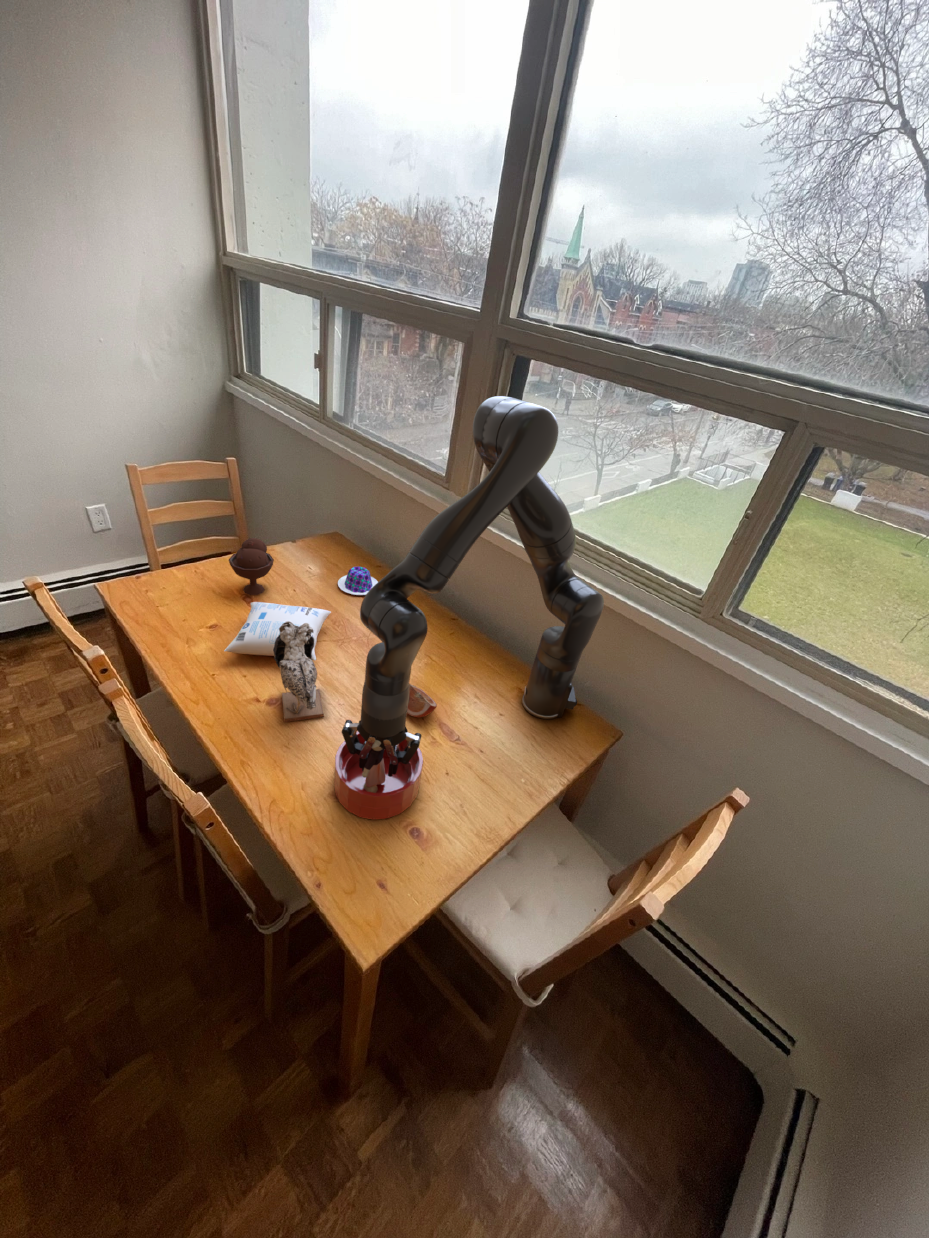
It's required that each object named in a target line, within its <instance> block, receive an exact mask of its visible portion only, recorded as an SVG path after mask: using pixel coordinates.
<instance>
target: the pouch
mask: <svg viewBox="0 0 929 1238" xmlns="http://www.w3.org/2000/svg"><path fill="white" fill-rule="evenodd" d="M331 613H332V611H330V610H327V609H323V608H318V607H317V608H316V607H307V606H301V605H300V606H299V605H288V604H280V603H273V602H263V601H253V602H250V611H249V613H248V615H247V618H246V621H245V622H244V624H243V626H242V627H241V628H240V630H239V631H238V633H237V634H236V636H235V637H234V638H233V640H232V641H231V642H230V643H229V644H228V645H227V646H226V648H225V649H224V650H223V652H227V653H232V654H233V653H234V654H241V655H242V654H244V655H254V656H266V657H267V656H269V657H274V652H273V649H274V645H275V641H276V638H277V637H278V636H279V634H280V632H279V628H280V627H281V625H282V624H283V623H285V622H287V621H290V622H292V623H293V624H294V625H295V626H301V625H303V624H304V623H308V624H309V626H310V627H311V628H312V629H313V631H314V633H311V636H312V637H313V638H314V647H313V649H312V658H311V660H312V661H317V657H316V651H315V648H316V645H317V640H318V635H319V633H320V631H321V629H322V627H323V624H324V623H325V621H326V620H327V618H328V617H329V616H330V614H331Z"/></svg>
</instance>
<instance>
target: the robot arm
mask: <svg viewBox="0 0 929 1238" xmlns="http://www.w3.org/2000/svg"><path fill="white" fill-rule="evenodd" d="M472 439H473V443H474V446H475V449H476V451H477V453H478V455H479V457H480V459H481V461H482V462H483V464H484V465H485V468H486V469H487V471H488V474H487V475H486V476H484V478H483V479H482V481H480V482H479V483H478V485H476V486H475V487H474V488H473V489H471V490H470V491H469V492H468V493H467V494H465V495H464V496H462V497H461V498H460V499H458V500H456V501H455V502H453V503H452V504H451V505H449V506H447V507H446V508H445V509H443V510H442V511H440V512H439V513H438V514H437V515H436V516H435V517H434V518H432V520H430V522H429V523H427V525H426V526H425V527H424V529H423V530H422V531H421V533H420V535H419V536H418V538H417V539H416V540H415V542H414V544H413V545H412V546H411V548H410V549H409V550H408V551H409V552H407V553H406V555H405V557H404V559H402V561H401V562H399V563H398V564H397V565H396V566H394V567H393V568H392V569H390V571H389V572H388V573H386V575H385V576H383V577H382V578H381V579H380V580H379V581H378V583H377V584H376V585H374V586H373V587H372V588H371V589H370V590H369V592H368V593H367V594H366V595H364V597H363V599H362V602H361V605H360V609H359V618H360V621H361V623H362V624H363V626H364V627H365V628H366V629H367V630H368V631H370V632H371V633H372V634H373V635H374V636H375V637H376V638H377V639H379V640H380V641H381V642H379V643H376V644H374V645H373V646H372V647H371V648H370V649H369V650H368V652H367V655H366V661H365V670H364V672H365V673H364V681H363V687H362V692H361V705H360V706H361V707H360V720H359V721H358V722H353V721H352V720H351V719H346V720H345V721H344V722H345V723H344V724H343V727H342V729H341V734H342V738H343V741H345V742H346V745H347V748H348V750H349V753H350V754H358V755H359V757H360V759H359V767H360V768H362V771H363V772H364V768H365V764H366V762H367V760H368V754H369V752H370V749H371V748H372V746H373V744H374V742H375V740H378V741H380V742H381V744H380V746H379V747H381V748H382V749H386V751H387V755H388V756H389V757H390V763H389V771H388V776H390V777H392V774H394V775H395V774H396V772H397V769H398V763H399V762H402V763H403V764H407V763H408V762H409V761H410V759H411V758H412V756H413V755H414V753H415V752H416V750H417V749H418V748H419V749H420V745H421V740H422V734H421V733H420V732H416V733H414V734H413V733H410V732H408V728H407V726H406V725H407V724H406V723H407V716H408V713H407V709H408V703H409V693H410V690H409V684H410V681H411V674H412V666H413V665H414V662H415V660H416V658H417V655H418V654H419V652H420V649H421V648H422V646H423V644H424V642H425V640H426V638H427V635H428V621H427V616H426V615H425V613H424V612H423V610H422V609H421V608H419V607H418V606H417V605H415V604H414V603H413V602H412V601H411V600H409V598H410V596H412V595H413V594H414V593H416V592H418V591H419V590H422V591H423V592H426V593H428V594H432V595H433V594H438V593H440V592H441V591H443V589H444V587H445V586H446V585H447V584H448V582H449V580H450V579H451V578H452V576H453V575H454V573H455V572H456V570H457V569H458V567H459V566H460V564H461V563H462V561H463V560H464V559H465V557H466V556H467V554H468V553H469V551H470V550H471V549H472V547H473V546H474V545H475V544H476V542H477V540H479V538H480V537H481V536H482V535H483V533H484V532H485V531H486V530H487V529H488V527H489V526H490V525H491V524H492V523H493V522H494V521H495V520H496V519H497V518H498V517H499V516H500V515H501V514H502V513H503V511H505V509H506V508H507V510H508V512H509V515H510V517H511V519H512V521H513V523H514V525H515V528H516V532H517V534H518V537H519V539H520V542H521V543H522V546H523V549H524V550H525V551H524V552H525V553H526V555H527V556H528V559H529V562H530V564H531V566H532V568H533V571H534V572H535V574H536V576H537V579H538V583H539V585H540V591H541V595H542V599H543V603H544V605H545V607H546V609H547V611H548V612H549V613H551V614H552V615H553V616H554V617H555V618H556V619H558V620H559V621H560V622H561V623H562V624H564V626H562V625H554V626H549V627H548V628H546V629H545V630H544V631H543V632H542V634H541V638H540V641H539V644H538V648H537V651H536V654H535V657H534V661H533V664H532V666H531V671H530V674H529V677H528V680H527V684H526V685H525V686H524V693H523V695H522V699H521V703H522V706H523V708H524V709H525V710H526V712H527V713H529V715H531V716H533V717H535V718H538V719H541V720H552V719H556V718H562V717H563V714H564V713H565V712H564V711H565V709H566V710H574V708H575V707H576V706H577V704H578V699H577V697H576V692H575V686H573V679H574V677H575V673H576V671H577V668H578V665H579V662H580V659H581V657H582V654H583V652H584V650H585V649H586V647H587V646H588V644H589V642H590V641H591V639H592V636H593V633H594V632H595V629H596V627H597V625H598V622H599V620H600V618H601V615H602V614H603V610H604V606H605V605H604V604H605V600H604V597H603V594H601V592H599V591H598V590H597V589H595V588H594V587H592V586H591V585H589V584H588V583H586V582H585V581H584V580H583V579H581V578H580V577H579V576H577V574H576V573H575V572H574V571H573V568H572V566H571V563H570V561H569V560H570V559H571V558H572V556H573V554H574V552H575V549H576V545H577V535H576V530H575V528H574V524H573V521H572V517H571V514H570V512H569V510H568V508H567V506H566V504H565V502H564V501H563V500H562V498H561V497H560V496H559V495H558V493H557V492H556V490H555V489H554V488H553V487H552V486H551V484H550V483H549V482H548V481H547V480H546V479H545V477H544V476H543V475H542V473H541V470H542V469H543V468H544V467H545V465H546V464H547V462H548V461H549V460H550V458H551V456H552V455H553V454H554V451H555V449H556V446H557V443H558V439H559V424H558V420H557V417H556V416H555V414H554V413H553V412H552V411H551V410H550V409H548V408H547V407H544V406H542V405H540V404H536V403H533V402H529V401H525V400H522V399H519V398H515V397H511V396H505V395H496V396H491V397H489V398H486V399H485V400H484V401H482V402H481V403H480V405H479V406H478V408H477V409H476V412H475V413H474V417H473V422H472ZM357 731H358V732H359V733H360V735H361V736H362V737H363V738H364V740H365V742H364V744H360V742H359V739H358V736H357V733H356V732H357ZM404 740H406V741H407V743H406V744H407V747H406V748H405V750H404V751H400V748H399V743H401V742H402V741H404Z"/></svg>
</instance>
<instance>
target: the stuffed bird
mask: <svg viewBox="0 0 929 1238" xmlns="http://www.w3.org/2000/svg"><path fill="white" fill-rule="evenodd" d="M279 632H280V634H279V636H278V637H277V638H276V641H275V645H274V649H273V652H274V656H273V659H274V661H275V663H276V665H277V667H278V668H279V671H280V672H279V673H280V679H281V681H282V682H281V683H282V686H283V688H284V690H285V691H286V692H282V693H281V701H282V711H283V721H284V723H287V722H296V721H302V720H311V719H317V718H323V717H324V716H325V711H324V707H323V702H322V697H321V692H320V691H321V690H320V688H317V686H316V683H317V678H318V670H317V667H316V664H315V662H314V660H311V658H312V649H313V647H314V638H313V637H312V636H311V633H314V631H313V629H312V628H311V627H310V626H309V624H308V623H304V624H303V625H301V626H295V625H294V624H293V623H292V622H290V621H287V622H285V623H283V624H282V625H281V627H280V628H279ZM287 689H288V692H287Z"/></svg>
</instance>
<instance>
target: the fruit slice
mask: <svg viewBox="0 0 929 1238" xmlns="http://www.w3.org/2000/svg"><path fill="white" fill-rule="evenodd" d="M409 690H410V693H409V703H408V709H407V715H409V716H412V717H414V718H423V717H426V716H428V715H430V714H431V713H432V712H434V711H435V710H436V708H437V707H438V703H437V702H436V701H435V700H434V699H433V698H432V697H431V696H430V695H429V694H427V693H426V691H424V690H423V689H421V688H419V687H417V686H416V685H414V684H412V683H409Z"/></svg>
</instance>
